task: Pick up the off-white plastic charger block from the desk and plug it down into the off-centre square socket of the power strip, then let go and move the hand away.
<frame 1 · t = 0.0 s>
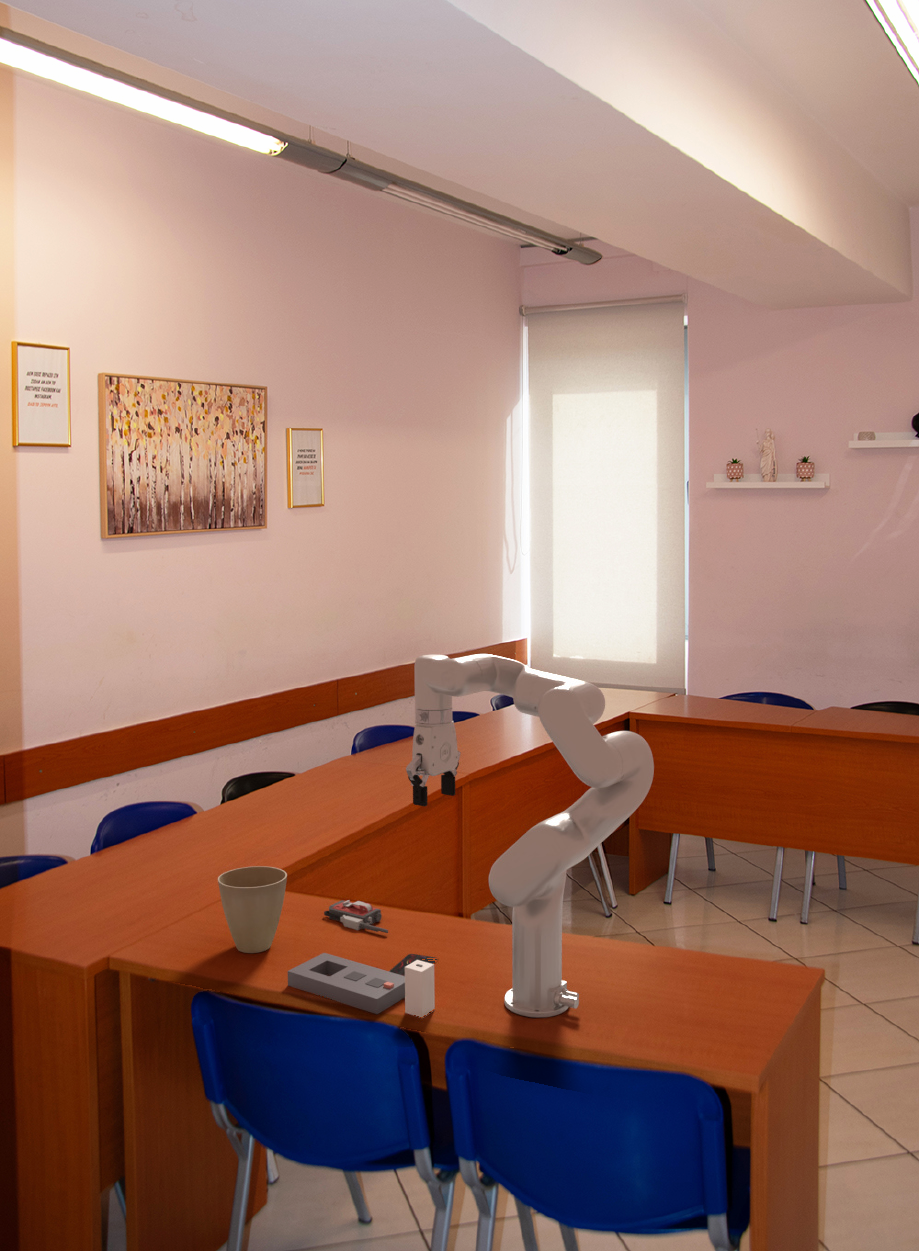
hand: (434, 799, 212), 37 cm above the table, tool pointing down, fingers open, 9 cm apart
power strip: (351, 989, 209), on the table
plant pot: (254, 947, 231), on the table
charger: (420, 1011, 200), on the table
smartphone: (409, 972, 219), on the table
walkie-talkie: (362, 924, 245), on the table
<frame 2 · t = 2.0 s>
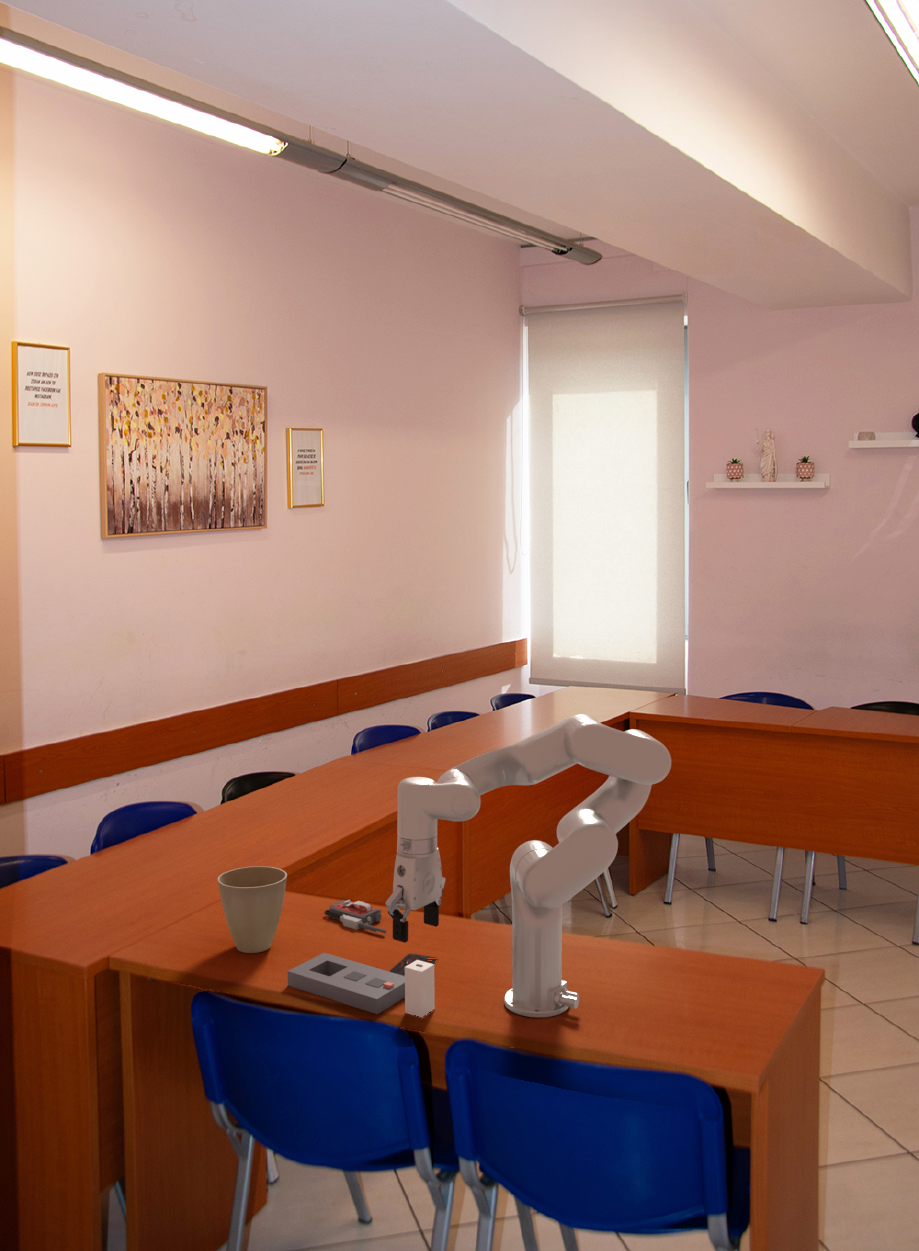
hand: (416, 932, 198), 16 cm above the table, tool pointing down, fingers open, 9 cm apart
nothing on the table moved.
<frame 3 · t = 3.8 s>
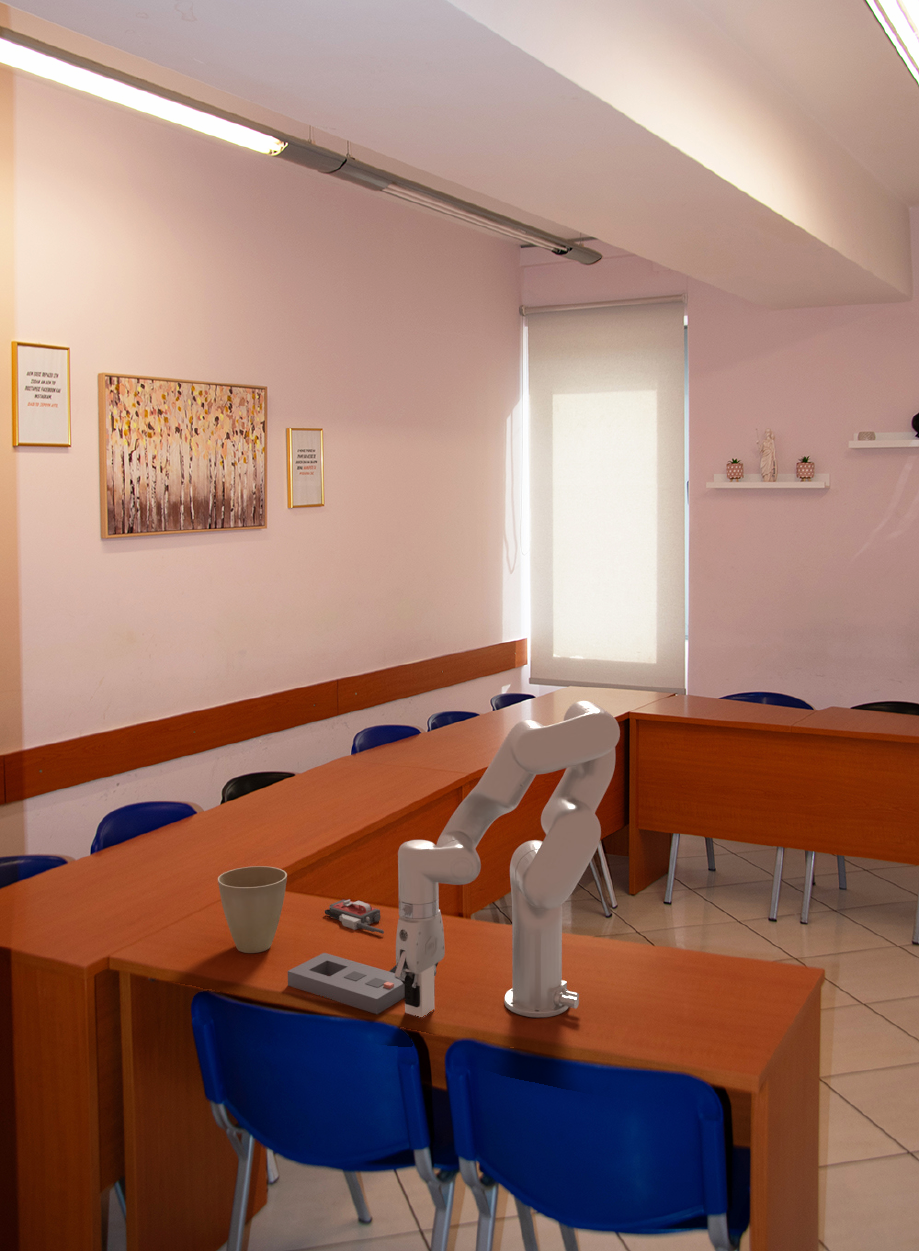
hand: (419, 999, 199), 2 cm above the table, tool pointing down, fingers closed on charger, 4 cm apart
charger: (419, 1011, 200), on the table, touching gripper
everything else where it was.
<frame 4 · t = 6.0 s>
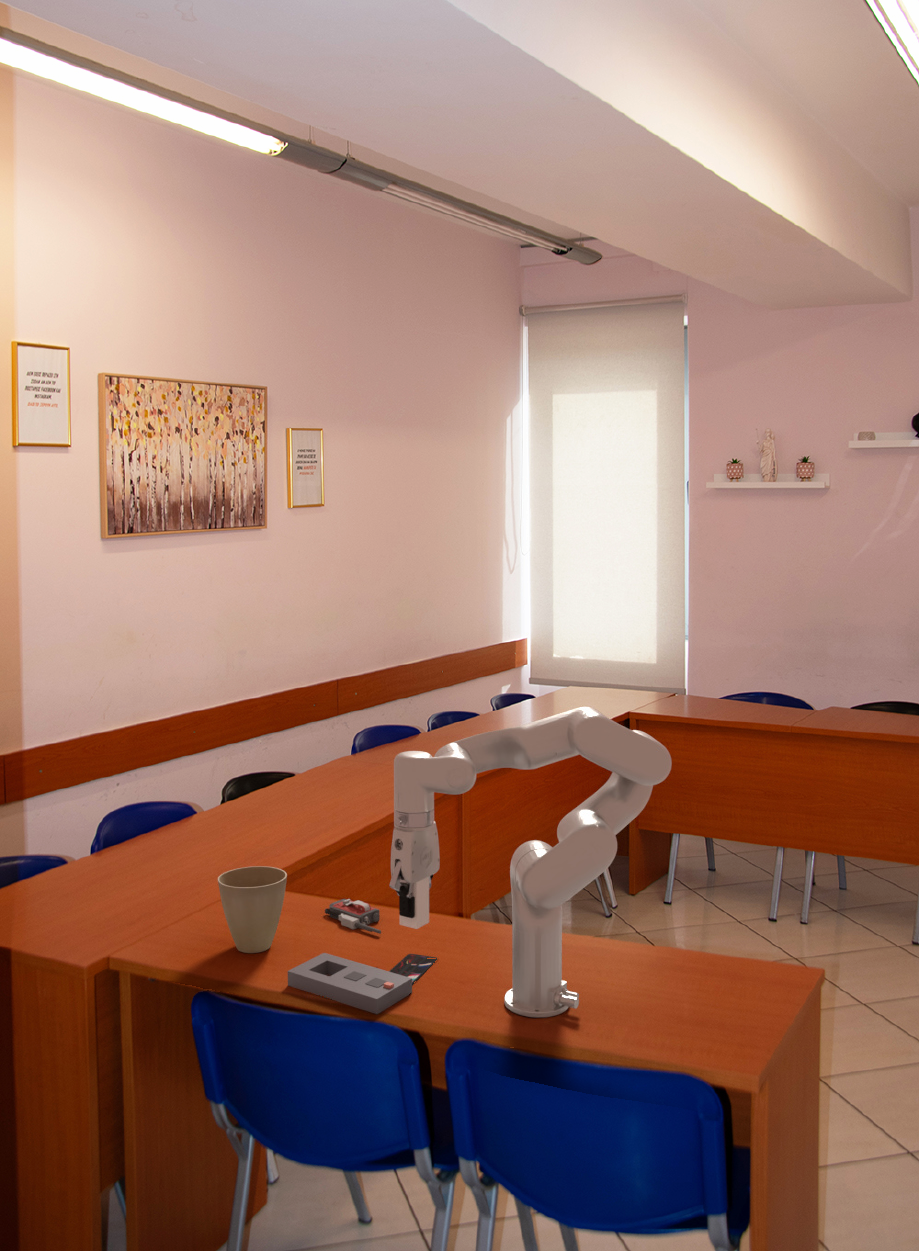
hand: (414, 911, 198), 19 cm above the table, tool pointing down, fingers closed on charger, 4 cm apart
charger: (414, 923, 199), point 17 cm above the table, touching gripper
everything else where it was.
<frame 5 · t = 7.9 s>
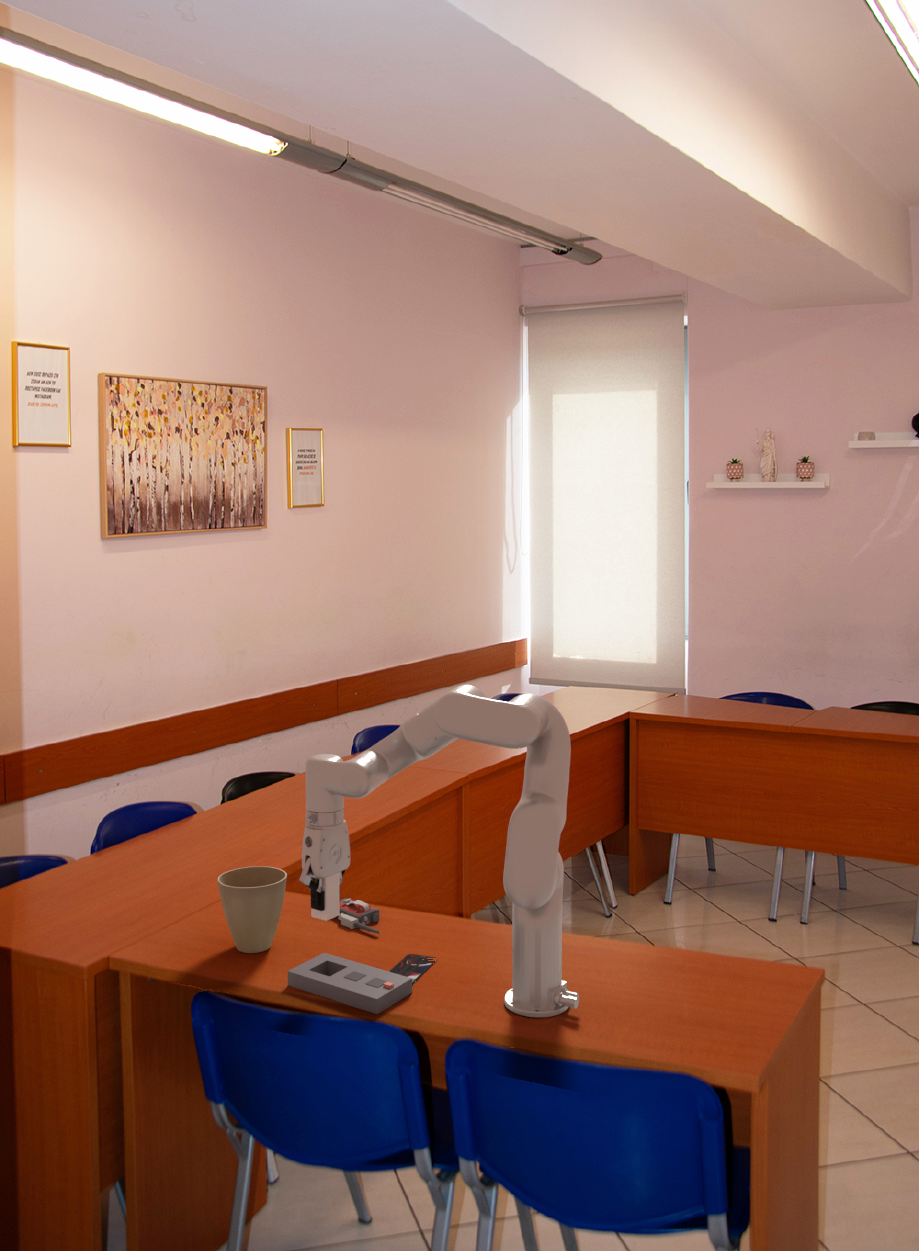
hand: (325, 904, 211), 16 cm above the table, tool pointing down, fingers closed on charger, 4 cm apart
charger: (325, 915, 211), point 14 cm above the table, touching gripper
when the fingers open (4 cm above the table, at t = 9.8 s): charger drops 2 cm, resting in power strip.
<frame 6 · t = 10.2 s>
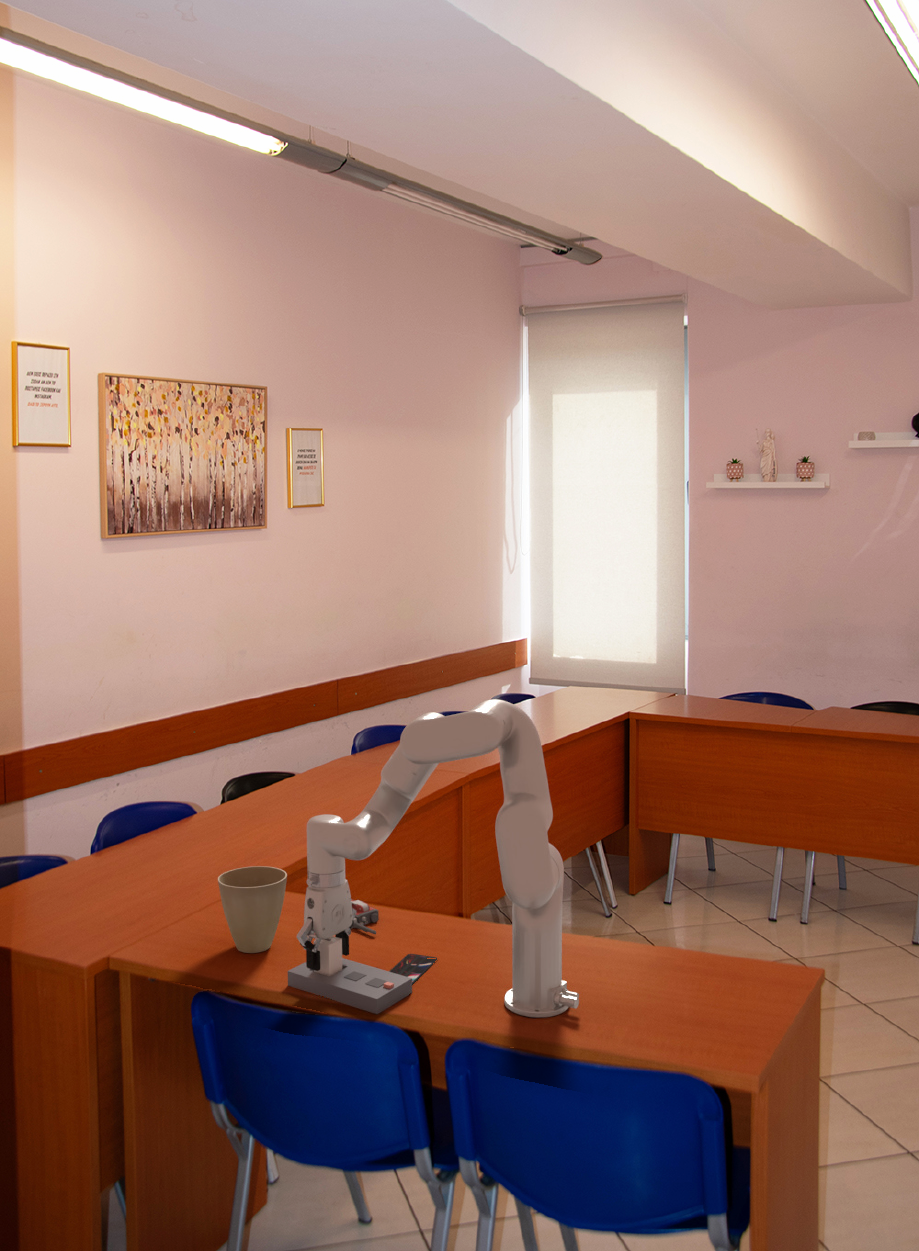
hand: (328, 960, 212), 5 cm above the table, tool pointing down, fingers open, 8 cm apart
charger: (328, 982, 212), resting in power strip
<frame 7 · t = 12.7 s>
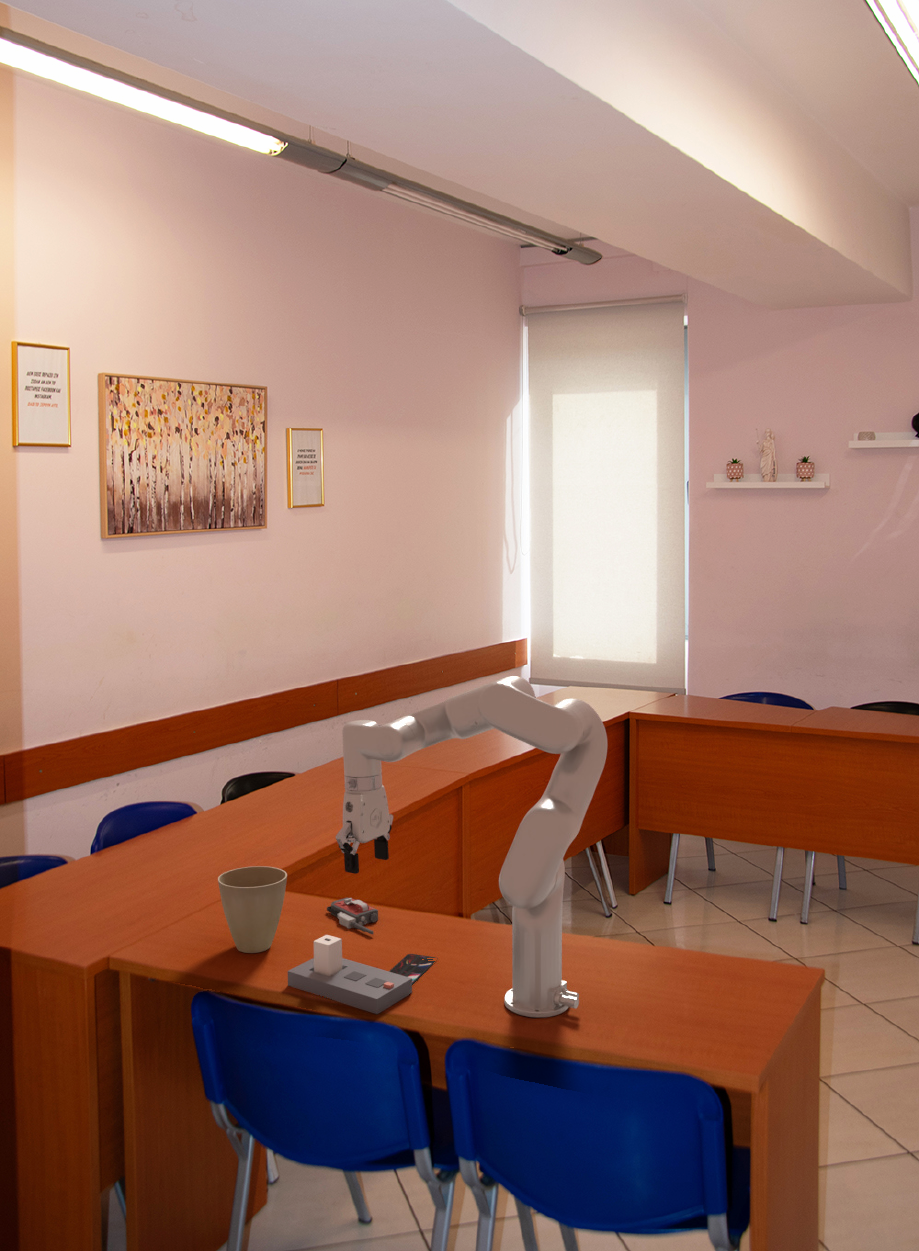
hand: (367, 865, 212), 24 cm above the table, tool pointing down, fingers open, 9 cm apart
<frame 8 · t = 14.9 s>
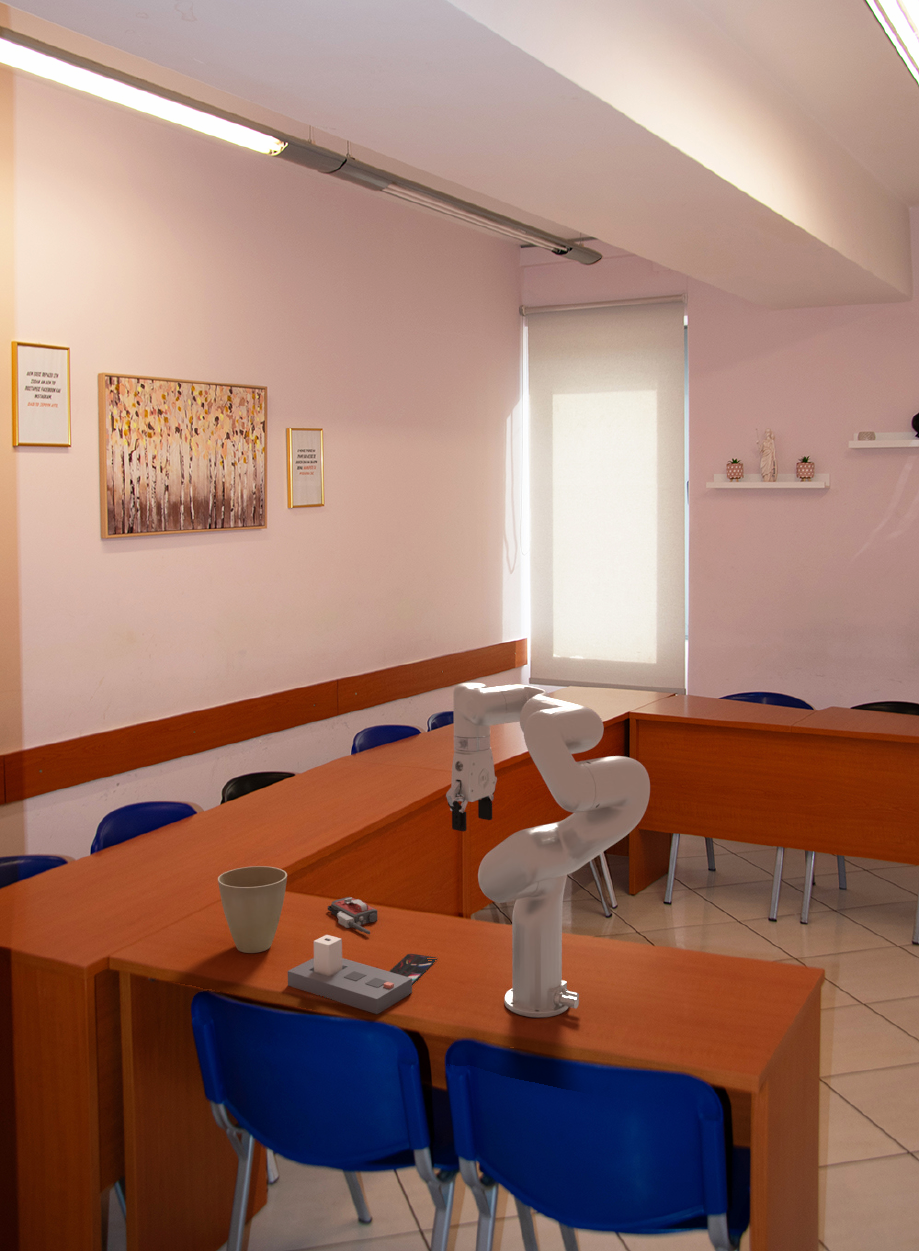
hand: (472, 824, 217), 30 cm above the table, tool pointing down, fingers open, 9 cm apart
at the end: charger 0.0 cm from the target spot on the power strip, point 0.0 cm above the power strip's base; charger tilted 0°; the gripper is holding nothing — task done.
